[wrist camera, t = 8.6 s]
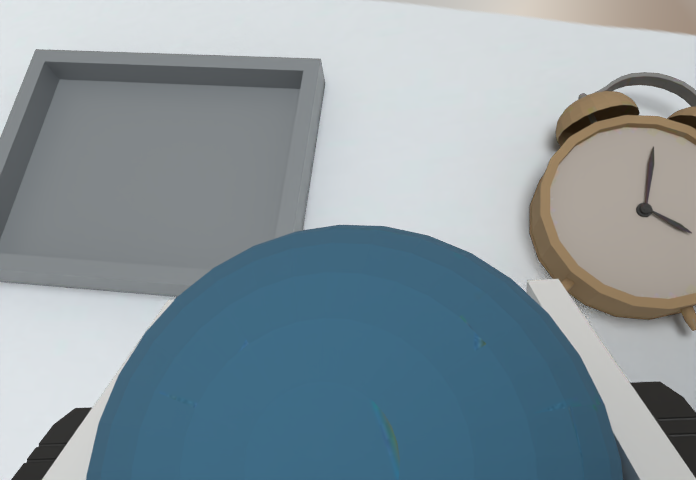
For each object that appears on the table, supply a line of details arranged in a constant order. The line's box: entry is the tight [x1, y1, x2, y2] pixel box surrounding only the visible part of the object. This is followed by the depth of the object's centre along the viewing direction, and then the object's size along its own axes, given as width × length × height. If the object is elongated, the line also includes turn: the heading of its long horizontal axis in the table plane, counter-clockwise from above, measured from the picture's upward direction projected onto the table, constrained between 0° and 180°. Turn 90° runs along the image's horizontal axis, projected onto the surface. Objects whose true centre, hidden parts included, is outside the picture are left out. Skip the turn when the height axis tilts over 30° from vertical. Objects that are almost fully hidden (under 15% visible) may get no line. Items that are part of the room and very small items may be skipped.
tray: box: [0, 49, 325, 297], centre depth 37 cm, size 20×16×2 cm
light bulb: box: [86, 225, 623, 480], centre depth 11 cm, size 8×8×12 cm
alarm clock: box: [530, 72, 696, 331], centre depth 33 cm, size 11×5×15 cm
